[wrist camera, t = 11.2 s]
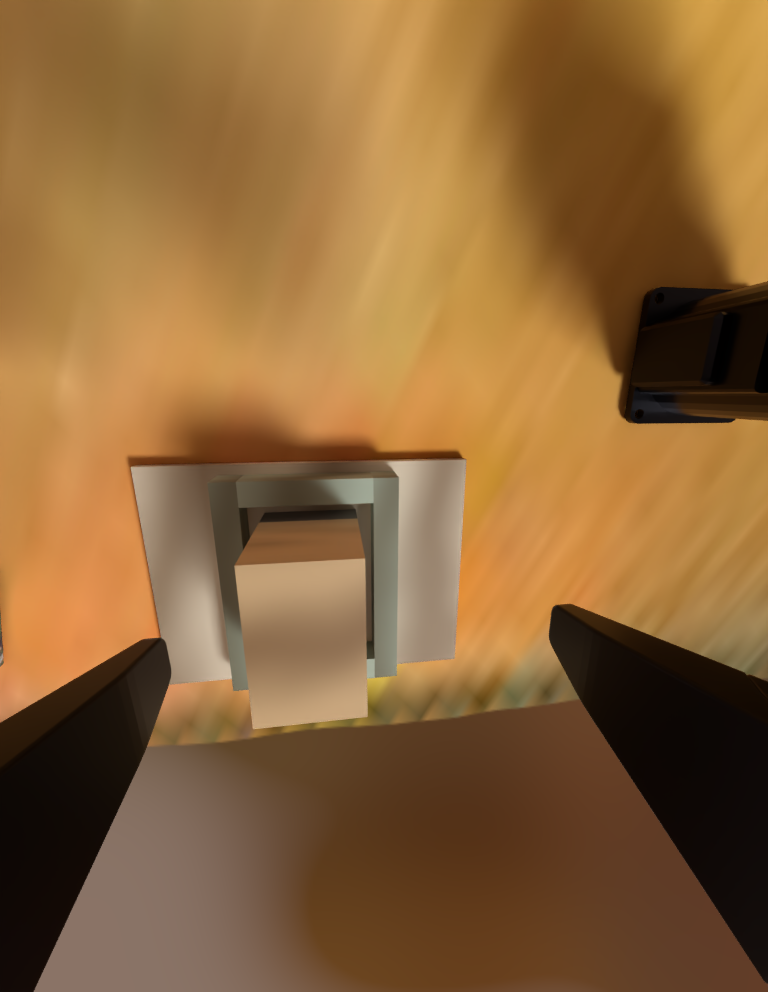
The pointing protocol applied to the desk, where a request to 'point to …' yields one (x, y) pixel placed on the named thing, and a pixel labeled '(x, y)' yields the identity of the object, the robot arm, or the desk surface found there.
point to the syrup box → (0, 646)
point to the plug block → (304, 618)
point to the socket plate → (302, 487)
